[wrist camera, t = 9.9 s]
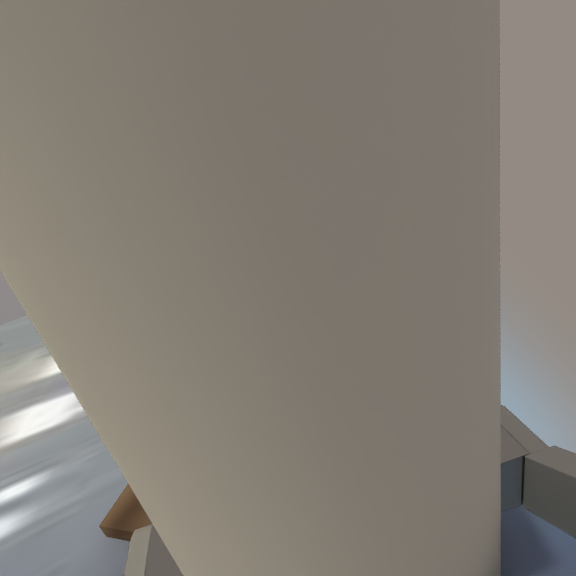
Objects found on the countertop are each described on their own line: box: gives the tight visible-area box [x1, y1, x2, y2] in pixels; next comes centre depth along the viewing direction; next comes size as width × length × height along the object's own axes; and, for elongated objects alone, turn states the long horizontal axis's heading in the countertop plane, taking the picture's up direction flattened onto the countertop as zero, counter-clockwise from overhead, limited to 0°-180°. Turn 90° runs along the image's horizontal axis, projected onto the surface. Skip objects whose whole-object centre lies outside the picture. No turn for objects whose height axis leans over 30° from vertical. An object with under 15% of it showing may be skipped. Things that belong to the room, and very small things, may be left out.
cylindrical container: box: [0, 0, 501, 576], centre depth 10 cm, size 7×7×25 cm
